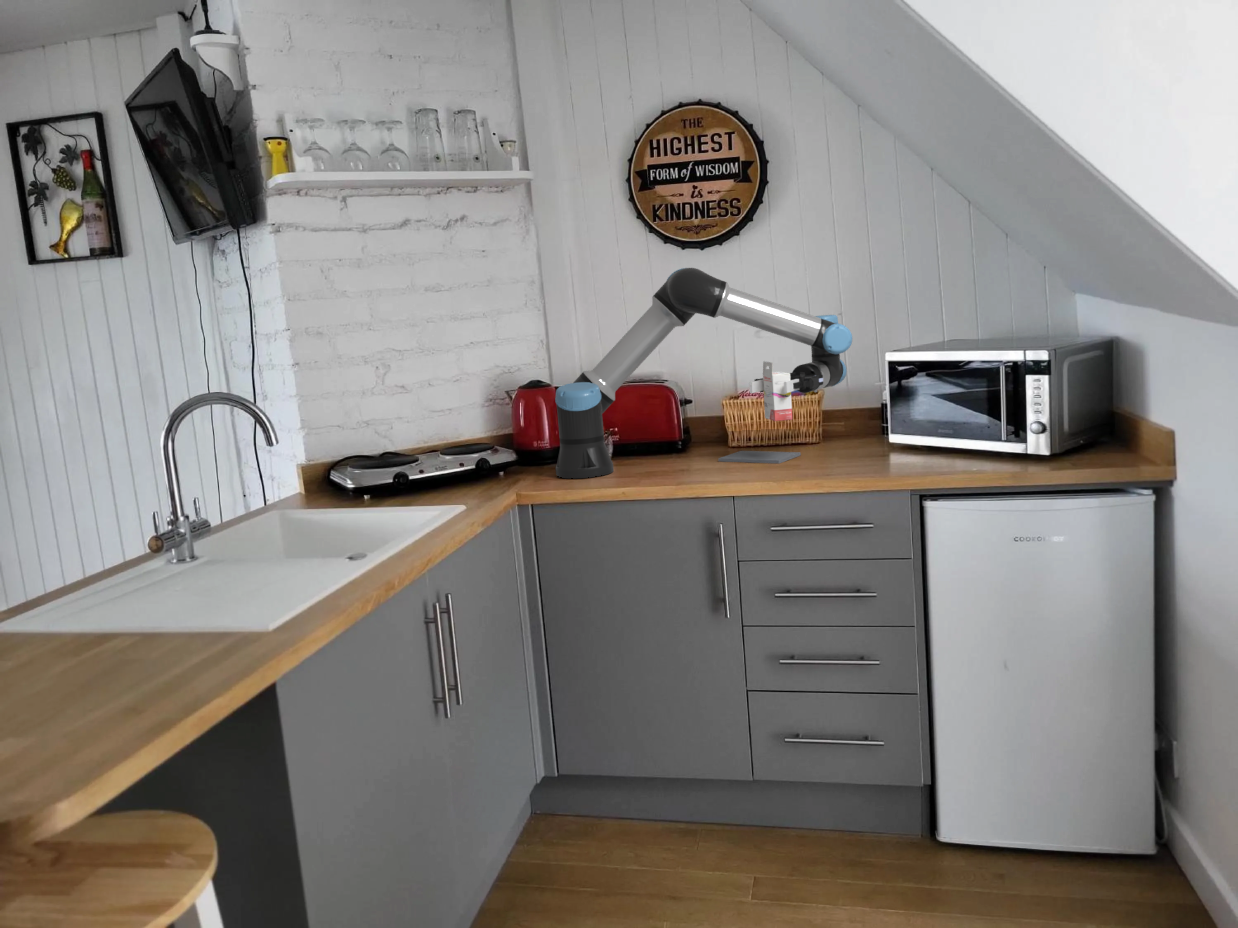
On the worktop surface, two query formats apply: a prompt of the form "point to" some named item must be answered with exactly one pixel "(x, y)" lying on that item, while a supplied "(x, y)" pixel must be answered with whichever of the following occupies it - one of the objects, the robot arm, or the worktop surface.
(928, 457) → the worktop surface
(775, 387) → the ink cartridge box
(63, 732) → the worktop surface
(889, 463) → the worktop surface
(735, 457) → the charcoal mat
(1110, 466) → the worktop surface
